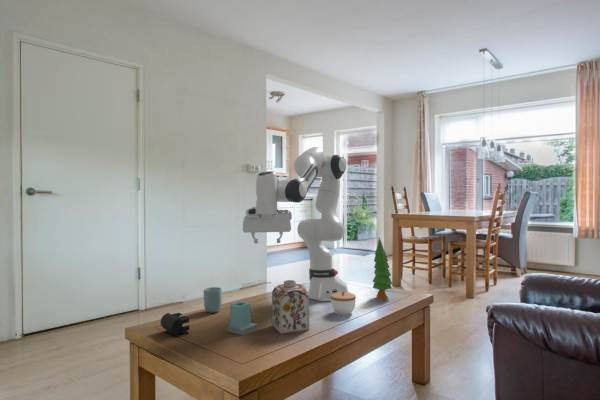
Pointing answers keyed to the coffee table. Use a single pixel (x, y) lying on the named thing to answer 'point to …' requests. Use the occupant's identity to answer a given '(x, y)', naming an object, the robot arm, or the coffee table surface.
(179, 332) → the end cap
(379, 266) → the decorative tree
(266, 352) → the coffee table surface
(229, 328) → the shaft block
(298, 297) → the decorative jar
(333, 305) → the lidded jar
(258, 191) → the robot arm
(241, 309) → the collar
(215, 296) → the cup
